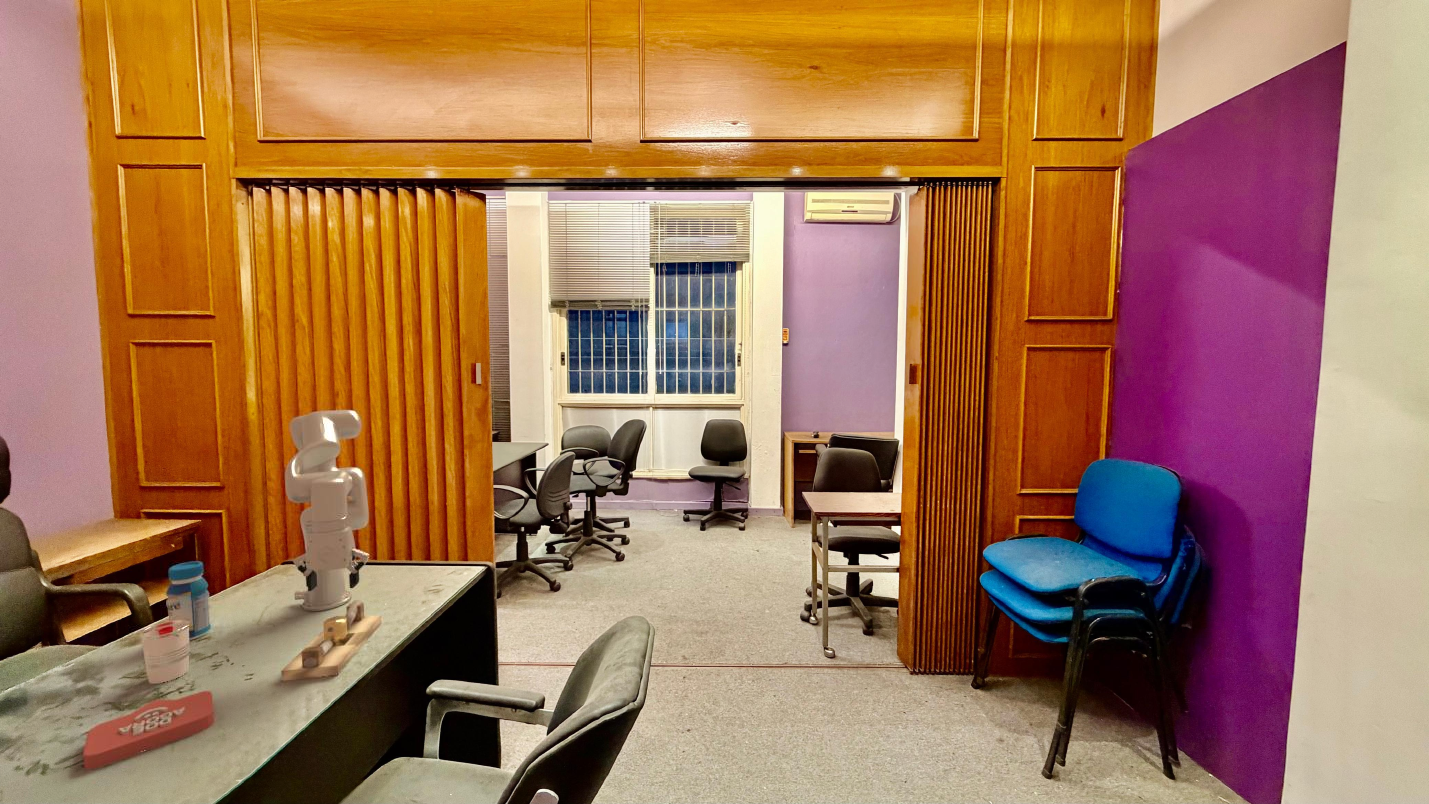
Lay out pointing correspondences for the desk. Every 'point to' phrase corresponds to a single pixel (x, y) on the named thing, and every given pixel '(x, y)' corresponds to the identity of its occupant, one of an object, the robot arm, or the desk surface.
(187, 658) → the striped cup with float
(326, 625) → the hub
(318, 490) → the robot arm
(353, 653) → the shaft jig
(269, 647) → the desk surface
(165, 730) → the plaque
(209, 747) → the desk surface
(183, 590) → the blue supplement bottle
